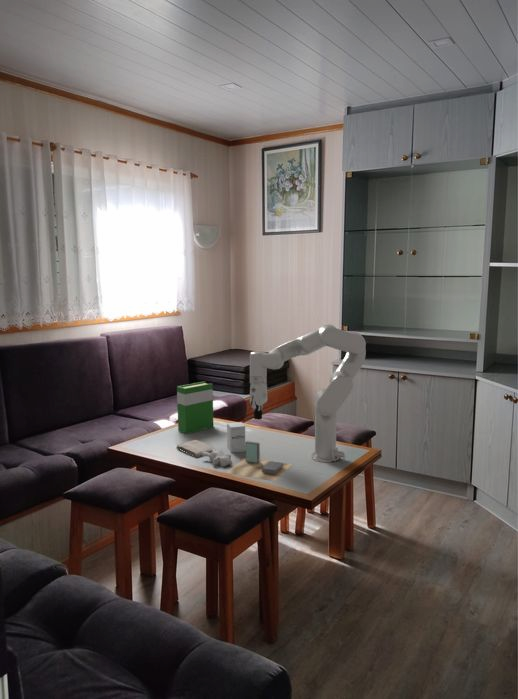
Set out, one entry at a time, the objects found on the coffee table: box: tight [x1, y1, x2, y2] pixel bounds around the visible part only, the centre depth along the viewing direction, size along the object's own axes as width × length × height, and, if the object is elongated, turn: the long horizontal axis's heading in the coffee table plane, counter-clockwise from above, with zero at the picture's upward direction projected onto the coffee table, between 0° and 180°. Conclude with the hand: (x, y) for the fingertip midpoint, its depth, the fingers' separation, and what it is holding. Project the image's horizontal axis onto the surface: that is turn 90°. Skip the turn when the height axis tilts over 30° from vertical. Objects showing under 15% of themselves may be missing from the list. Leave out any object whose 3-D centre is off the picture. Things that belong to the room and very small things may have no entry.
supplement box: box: [226, 421, 246, 453], centre depth 260 cm, size 7×7×13 cm
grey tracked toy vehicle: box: [176, 439, 216, 458], centre depth 261 cm, size 12×18×3 cm, turn 42°
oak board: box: [225, 456, 293, 482], centre depth 236 cm, size 23×20×1 cm
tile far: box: [245, 440, 261, 463], centre depth 243 cm, size 6×2×9 cm, turn 66°
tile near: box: [262, 460, 284, 475], centre depth 234 cm, size 6×2×9 cm
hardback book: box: [176, 381, 214, 434], centre depth 293 cm, size 18×7×24 cm, turn 131°
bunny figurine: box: [201, 448, 233, 467], centre depth 244 cm, size 10×5×15 cm
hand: (258, 418), depth 247 cm, fingers closed
